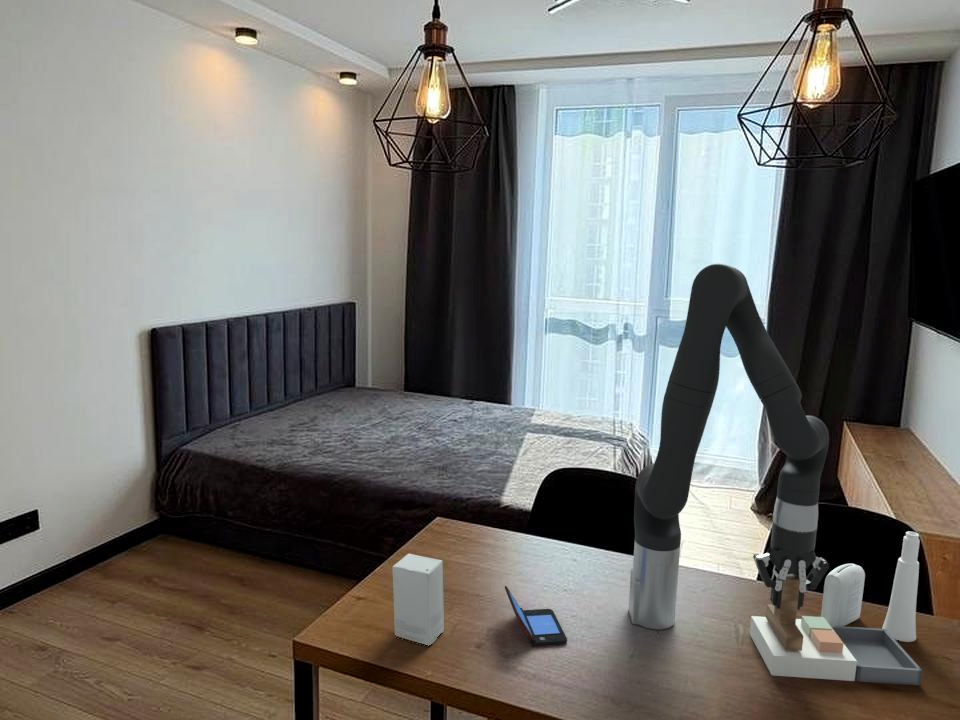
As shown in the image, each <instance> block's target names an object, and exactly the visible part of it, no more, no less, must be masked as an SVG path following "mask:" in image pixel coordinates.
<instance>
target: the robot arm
mask: <svg viewBox="0 0 960 720" xmlns="http://www.w3.org/2000/svg"><path fill="white" fill-rule="evenodd" d="M748 283H749V282H748V280H747V278H746V276H745V274H744V273H743V272H742V271H741V270H739V269H737V268H736V267H733V266H730V265H727V264H725V263H712V264H709V265H706V266H705V267H703V268H702V269H701V270H700V271H699V272H698V273H697V274H696V276H695V277H694V279H693V282H692V285H691V290H690V296H689V302H688V309H687V314H686V320H685V325H684V328H683V329H684V330H683V333H682V337H681V340H680V342H679V346H678V348H677V351H676V355H675V358H674V362H673V366H672V368H671V371H670V375H669V378H668V380H667V384H666V388H665V392H664V396H663V401H662V406H661V413H660V414H661V415H660V435H659V437H660V440H659V446H658V451H657V453H656V454H657V455H656V457H655V460H654V462H652V463H650V464H647V465H646V466H645V467H643V468H642V469H641V470H640V472H639V473H638V476H637V478H636V480H635V481H636V482H635V486H634V487H635V488H634V506H633V507H634V510H633V512H634V513H633V525H634V547H633V548H634V549H633V560H632V561H633V563H632V568H631V569H630V580H629V597H628V612H629V613H628V614H629V616H630V621H631V623H632V624H633V625H638V626H641V627H643V628H646V629H651V630H666V629H669V628H671V627H672V626H674V625H675V621H676V614H677V613H676V611H677V610H676V609H677V608H676V607H677V598H678V597H677V595H678V580H679V567H680V556H681V555H680V554H681V543H682V542H681V540H682V532H681V531H682V530H681V526H680V517H679V515H680V513H681V512H682V511H683V509H685V507H686V505H687V502H688V499H689V495H690V488H691V482H692V477H693V470H694V467H695V466H694V465H695V460H696V457H697V453H698V451H699V447H700V444H701V442H702V439H703V435H704V432H705V430H706V429H705V428H706V426H707V423H708V422H707V421H708V418H709V416H710V413H711V410H712V407H713V403H714V400H715V397H716V395H717V393H716V392H717V390H718V386H719V378H720V368H721V348H722V347H721V346H722V341H723V336H724V333H725V330H726V329H727V330H728V332H729V334H730V335H731V337H732V339H733V341H734V344H735V346H736V348H737V351H738V354H739V357H740V360H741V362H742V365H743V368H744V371H745V374H746V375H747V378H748V381H749V383H750V384H751V386H752V388H753V390H754V391H755V394H756V395H757V397H758V399H759V400H760V402H761V403H762V405H763V407H764V408H765V412H766V413H765V414H766V416H767V420H768V423H769V427H770V429H771V432H772V435H773V437H774V440H775V442H776V443H777V445H778V447H779V448H780V450H781V451H782V452H783V453H784V455H786V460H785V463H784V465H783V467H782V468H781V469H780V472H779V473H778V475H779V476H778V480H777V481H778V482H777V490H776V491H777V493H776V499H775V502H774V508H773V513H772V527H771V537H770V547H769V548H768V549H767V552H766V553H763V554H761V555H760V554H758V553H754V554H753V557H752V558H753V560H754V563H755V565H756V568H757V571H758V573H759V576H760V579H761V581H762V582H763V584H764V585H765V586H766V587H767V588H770V598H769V600H770V603H771V604H773V605H774V606H775V608H776V609H780V603H781V594H782V591H781V589H782V586H783V581H785V580H786V577H787V575H788V574H794V575H796V577H797V578H798V579H799V582H800V587H799V596H798V605H797V611H800V609H801V608H803V606H804V602H805V601H804V600H805V593H806V592H807V591H808V590H811V591H815V590H816V589H817V588H818V586H819V584H820V583H821V582H822V580H823V577H825V575H826V573H827V571H829V569H830V564H829V563H828V561H827V560H826V559H825V558H824V557H818V556H816V552H815V549H816V541H817V530H818V521H819V498H820V497H819V496H820V489H821V488H820V487H821V477H822V472H823V469H824V466H825V461H826V458H827V456H828V455H827V454H828V450H829V444H830V435H829V433H830V432H829V429H828V427H827V425H826V424H825V422H823V420H822V419H820V418H818V417H816V416H814V415H806V413H805V411H804V409H803V407H802V404H801V400H802V398H803V395H802V391H801V388H800V387H799V385H798V383H797V381H796V380H795V378H794V377H793V374H792V372H791V371H790V369H789V367H788V365H787V364H786V362H785V360H784V359H783V357H782V355H781V353H780V352H779V350H778V349H777V347H776V345H775V343H774V342H773V340H772V338H771V336H770V335H769V332H768V330H767V329H766V326H765V325H764V322H763V321H762V318H761V316H760V314H759V311H758V309H757V307H756V303H755V301H754V297H753V294H752V292H751V288H750V287H749V284H748ZM769 561H771V562H772V564H773V565H774V566H773V569H772V576H771V578H770V574H769V572H768V569H767V567H768V566H769ZM811 566H813V567H812V568H811ZM809 568H811V570H810V571H809V573H808V574H807V572H806V571H807V570H808V569H809ZM806 574H807V575H806Z"/></svg>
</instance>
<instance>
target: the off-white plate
mask: <svg viewBox="0 0 960 720" xmlns="http://www.w3.org/2000/svg"><path fill="white" fill-rule="evenodd" d="M801 619H802V618H796V626H797V627H798V629H799V630H800V632H801V633H802V635H803V645H802V651H796V650H785V649H784V647H783V645H782V644H781V642H780V640H779V639H778V637H777V635H776V634H775V632H774V630H773V629H772V627H771V625H770V624H769V622H768V621H767V619H766V616H759V615H758V616H756V615H751V616H750V624H749V625H750V626H749V635H750V638H751V639H752V641H753V643H754V645H755V646H756V649H757V650H758V653H759V654H760V656H761V658H762V660H763V662H764V663H765V664H764V665H766V668H767V669H768V671H769V673H770V675H771V676H775V677H791V678H792V677H793V678H801V679H802V678H804V679H818V680H819V679H820V680H831V681H833V680H835V681H848V682H855V681H856V680H855V673H856V665H857V661H856V659H855V658H854V657H853V655H852V654H851V653H850V651H849V650H848V649H847V647H846V646H845V645H844V644H843V652H842V653H832V652H819V651H818V650H817V648H816V647H815V645H814V644H813V642H812V641H811V639H810V637H809V636H808V635H807V633H806V632H805V630H804V629H803V628H802V626H801ZM832 631H834V630H832Z"/></svg>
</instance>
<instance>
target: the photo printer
mask: <svg viewBox="0 0 960 720" xmlns="http://www.w3.org/2000/svg"><path fill="white" fill-rule="evenodd" d="M865 578H866V573H865V570H864V569H863V567H862V566H860V565H858V564H855V563H844V564H842V565H839V566H837V567H835V568H834V569H833V570H831V571H830V572H829V573H828V574H827V575H826V577H825V579H824V585H823V595H822V602H821V610H820V611H821V612H820V617H824V618H825V619H826V621H827V622H828V623H829V625H830V626H845V627H846V626H847V625H849V624H851V623H853V622H855V621H857V620H858V619H859V618H860V616H861V611H862V603H863V594H864V587H865V580H866V579H865Z"/></svg>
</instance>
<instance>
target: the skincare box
mask: <svg viewBox="0 0 960 720" xmlns="http://www.w3.org/2000/svg"><path fill="white" fill-rule="evenodd" d="M443 572H444V571H443V560H441V559H437V558H432V557H428V556H427V557H426V556H423V555H422V556H421V555H417V554H413V553H407V554H406V555H404V556H403V557H402V558H401V559H400V560H398V561H397V562H396V563H395V564H393V566H392V590H393V593H392V594H393V615H394V616H393V617H394V619H393V620H394V622H393V623H394V636H395V635H396V636H399V637H402V638H405V639H409V640H412V641H415V642H418V643H422V644H425V645H428V646H429V645H431V644H434V643H435V641H437V640H438V638H439V637H440V636H441V635H442V634H443V632H444V631H445V625H444V624H445V622H444V621H445V620H444V619H445V618H444V617H445V615H444V614H445V613H444V577H443V576H444V573H443ZM441 633H442V634H441ZM440 634H441V635H440ZM439 635H440V636H439ZM438 636H439V637H438ZM437 637H438V638H437ZM418 643H417V644H418ZM425 645H424V646H425ZM428 646H427V647H428Z"/></svg>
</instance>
